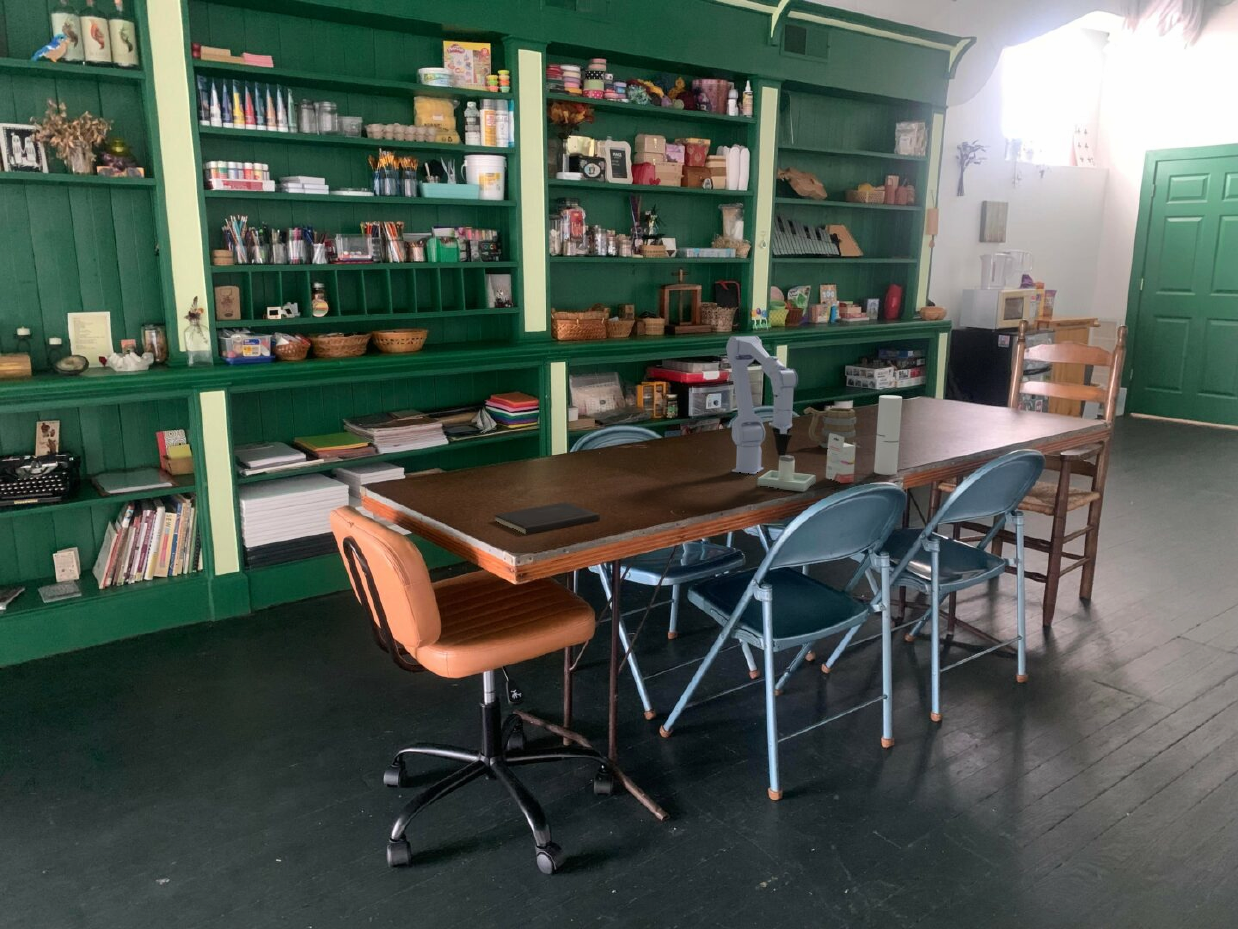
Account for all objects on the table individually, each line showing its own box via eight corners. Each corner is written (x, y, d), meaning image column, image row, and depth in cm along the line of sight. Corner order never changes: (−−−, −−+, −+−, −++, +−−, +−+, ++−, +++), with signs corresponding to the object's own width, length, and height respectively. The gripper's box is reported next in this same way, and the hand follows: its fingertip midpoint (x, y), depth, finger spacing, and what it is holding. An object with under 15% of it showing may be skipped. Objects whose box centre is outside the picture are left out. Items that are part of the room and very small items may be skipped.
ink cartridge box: (854, 482, 293) (857, 436, 290) (841, 483, 291) (844, 437, 288) (837, 476, 301) (840, 431, 298) (824, 477, 299) (827, 432, 296)
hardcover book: (494, 523, 247) (493, 514, 247) (566, 509, 261) (566, 501, 261) (526, 537, 235) (525, 528, 235) (600, 522, 249) (600, 514, 248)
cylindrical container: (881, 468, 312) (886, 394, 307) (900, 472, 307) (906, 396, 302) (870, 472, 307) (875, 396, 302) (889, 475, 303) (895, 399, 297)
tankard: (850, 443, 355) (852, 404, 352) (859, 450, 343) (862, 409, 340) (797, 443, 355) (799, 404, 352) (805, 450, 343) (807, 409, 339)
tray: (770, 477, 298) (770, 470, 298) (815, 483, 292) (815, 475, 291) (757, 486, 287) (757, 478, 287) (804, 491, 281) (804, 483, 280)
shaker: (776, 480, 292) (777, 455, 290) (792, 480, 292) (793, 455, 290) (779, 483, 287) (780, 458, 285) (795, 483, 287) (796, 458, 285)
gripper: (768, 405, 293) (766, 447, 296) (770, 412, 279) (768, 457, 282) (791, 405, 292) (789, 448, 295) (794, 413, 278) (792, 458, 281)
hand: (780, 452), depth 288 cm, fingers open, 7 cm apart
